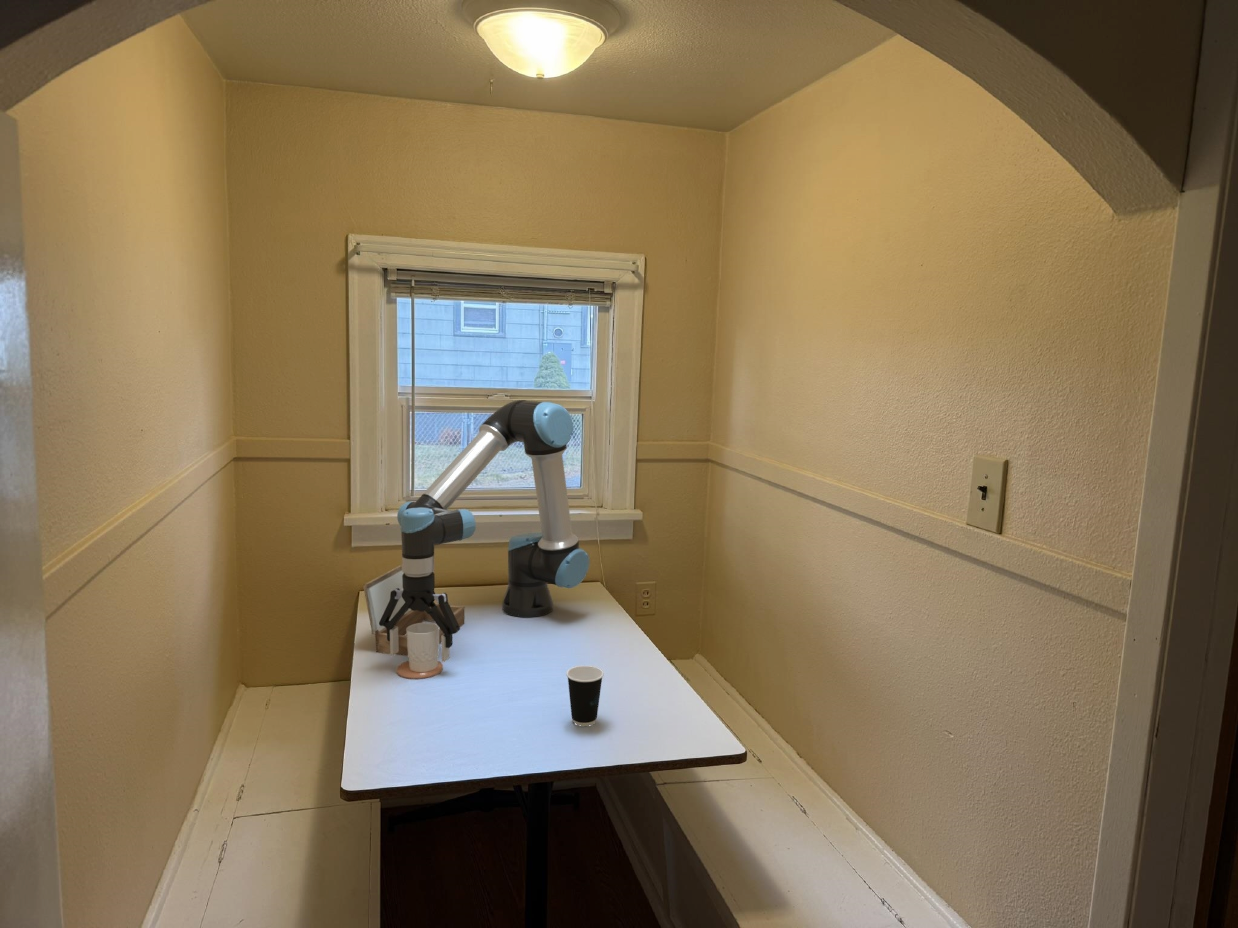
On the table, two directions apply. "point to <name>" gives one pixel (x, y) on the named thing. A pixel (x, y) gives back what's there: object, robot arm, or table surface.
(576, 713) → the dixie cup
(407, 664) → the saucer
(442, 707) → the table surface
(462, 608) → the cold frame
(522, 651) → the table surface
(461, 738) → the table surface
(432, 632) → the white cup
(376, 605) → the lid
